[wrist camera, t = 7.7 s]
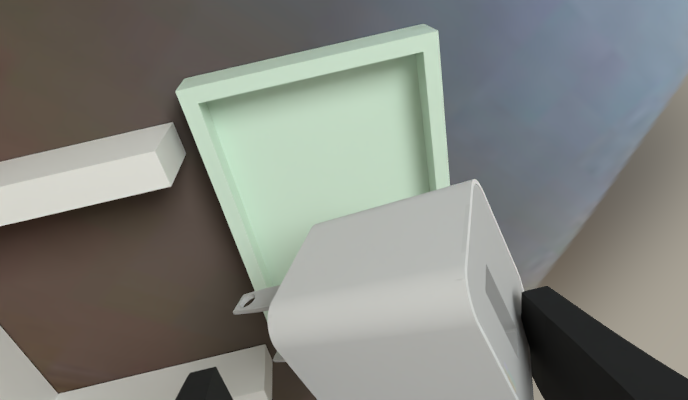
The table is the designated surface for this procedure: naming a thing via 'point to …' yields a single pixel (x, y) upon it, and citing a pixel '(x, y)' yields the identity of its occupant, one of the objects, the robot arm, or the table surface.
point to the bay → (92, 188)
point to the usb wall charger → (403, 304)
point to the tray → (318, 138)
